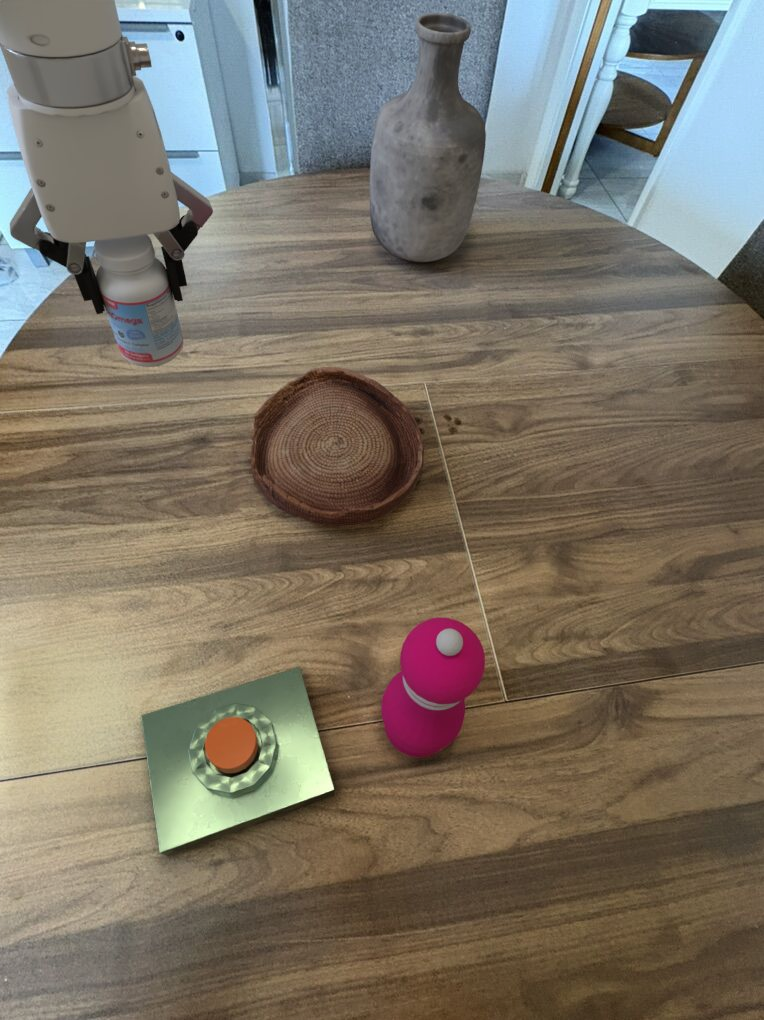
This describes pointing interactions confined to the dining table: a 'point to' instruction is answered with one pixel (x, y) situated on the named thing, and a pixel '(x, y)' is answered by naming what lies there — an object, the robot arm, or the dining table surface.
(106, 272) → the pill bottle
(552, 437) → the dining table surface
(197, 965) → the dining table surface
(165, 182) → the robot arm
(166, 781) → the green button base
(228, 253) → the dining table surface
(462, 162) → the vase
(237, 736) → the button
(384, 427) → the basket
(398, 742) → the pepper mill
